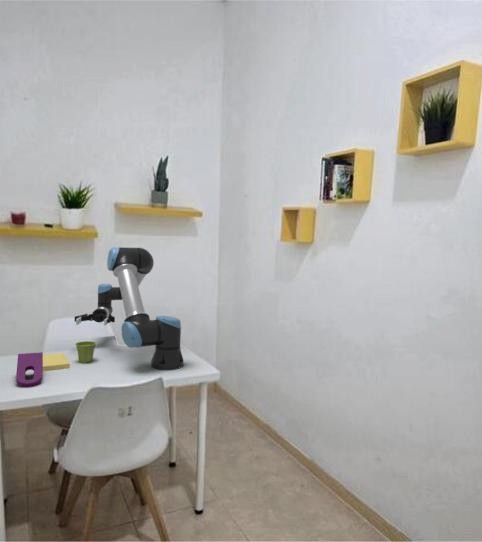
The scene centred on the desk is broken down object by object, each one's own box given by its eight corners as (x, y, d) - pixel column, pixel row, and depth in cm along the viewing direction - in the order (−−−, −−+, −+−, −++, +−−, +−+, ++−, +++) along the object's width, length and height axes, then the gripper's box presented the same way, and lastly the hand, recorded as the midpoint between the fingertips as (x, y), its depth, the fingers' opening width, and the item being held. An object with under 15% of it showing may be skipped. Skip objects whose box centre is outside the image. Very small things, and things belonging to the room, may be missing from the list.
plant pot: (78, 358, 206) (78, 340, 206) (98, 358, 207) (98, 341, 206) (72, 363, 197) (72, 345, 196) (93, 364, 198) (93, 346, 197)
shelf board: (69, 367, 191) (69, 363, 191) (40, 371, 184) (40, 366, 184) (62, 356, 208) (62, 352, 208) (35, 359, 202) (35, 355, 201)
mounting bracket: (42, 397, 171) (42, 367, 185) (42, 382, 167) (42, 352, 181) (15, 400, 167) (18, 369, 181) (15, 384, 163) (18, 353, 177)
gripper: (123, 321, 233) (116, 330, 212) (77, 320, 231) (65, 329, 210) (123, 308, 233) (116, 315, 212) (77, 307, 230) (65, 314, 209)
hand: (90, 322), depth 211 cm, fingers open, 13 cm apart
